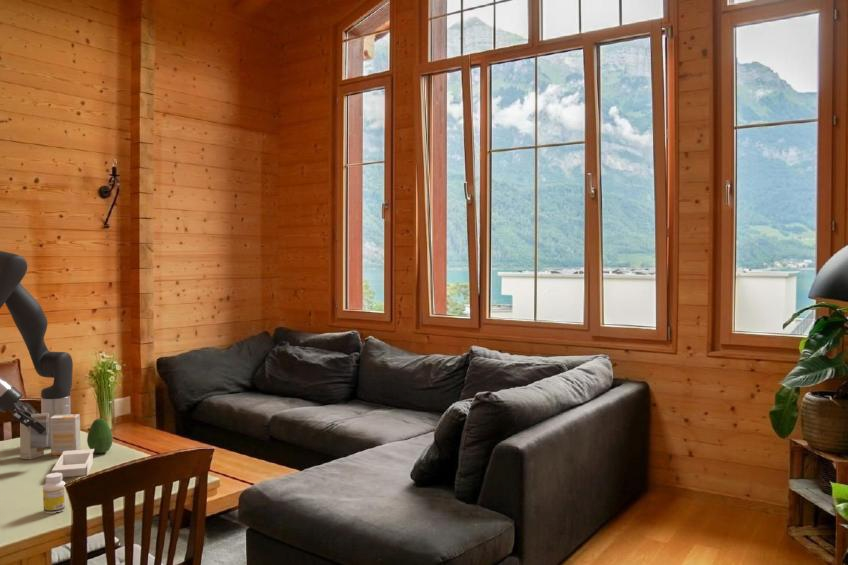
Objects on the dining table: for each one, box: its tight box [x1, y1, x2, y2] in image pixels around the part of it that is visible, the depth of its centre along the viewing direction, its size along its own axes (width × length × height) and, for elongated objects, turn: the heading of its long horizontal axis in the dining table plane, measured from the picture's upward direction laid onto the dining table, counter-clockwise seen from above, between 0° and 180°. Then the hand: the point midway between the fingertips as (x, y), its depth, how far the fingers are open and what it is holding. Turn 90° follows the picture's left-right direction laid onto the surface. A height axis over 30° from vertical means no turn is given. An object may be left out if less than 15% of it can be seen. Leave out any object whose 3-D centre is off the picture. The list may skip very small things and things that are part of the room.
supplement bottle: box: [42, 472, 67, 514], centre depth 189 cm, size 5×5×10 cm
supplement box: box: [50, 413, 82, 456], centre depth 241 cm, size 8×5×13 cm, turn 97°
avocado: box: [86, 418, 114, 454], centre depth 241 cm, size 8×8×12 cm
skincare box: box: [19, 420, 45, 460], centre depth 237 cm, size 6×4×12 cm
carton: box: [51, 448, 95, 478], centre depth 223 cm, size 21×9×4 cm, turn 18°
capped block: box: [31, 413, 49, 448], centre depth 224 cm, size 4×4×10 cm
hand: (44, 429), depth 225 cm, fingers closed on capped block, 4 cm apart
